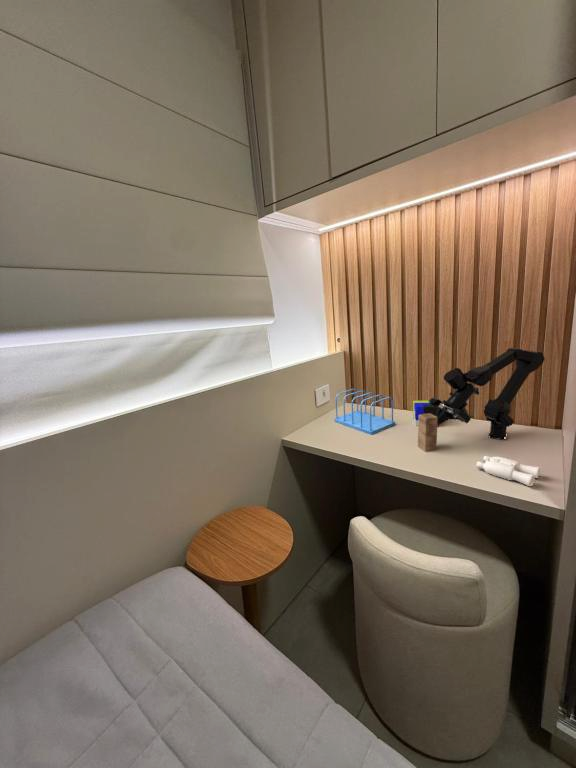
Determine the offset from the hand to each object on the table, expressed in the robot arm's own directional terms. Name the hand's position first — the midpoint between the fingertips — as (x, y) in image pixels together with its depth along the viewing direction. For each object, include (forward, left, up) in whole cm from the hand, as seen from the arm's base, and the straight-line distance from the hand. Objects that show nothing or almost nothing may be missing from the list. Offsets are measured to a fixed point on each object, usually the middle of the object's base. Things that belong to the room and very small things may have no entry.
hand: (434, 425), depth 129 cm
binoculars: (+11, +25, -10) cm, 29 cm away
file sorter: (-14, -36, -10) cm, 40 cm away
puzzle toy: (-26, -9, -10) cm, 29 cm away
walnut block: (+2, -2, -9) cm, 10 cm away
